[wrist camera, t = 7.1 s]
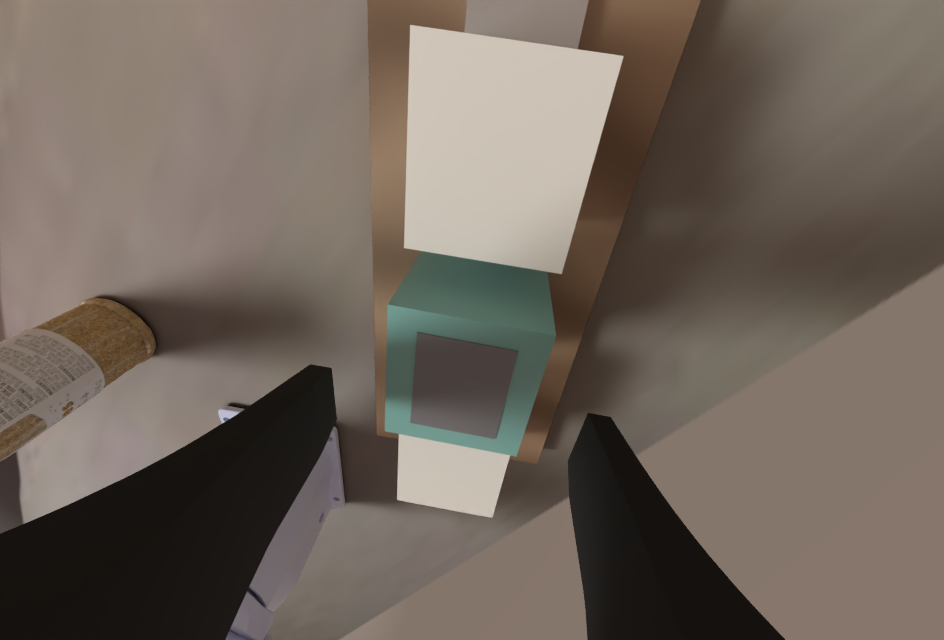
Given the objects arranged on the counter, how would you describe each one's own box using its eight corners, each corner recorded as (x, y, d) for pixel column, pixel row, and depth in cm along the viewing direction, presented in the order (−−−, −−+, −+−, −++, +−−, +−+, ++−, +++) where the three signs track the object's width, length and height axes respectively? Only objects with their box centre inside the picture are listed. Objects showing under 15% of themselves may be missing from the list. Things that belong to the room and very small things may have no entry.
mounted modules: (498, 439, 21) (492, 517, 17) (419, 425, 21) (397, 500, 17) (590, 67, 11) (624, 56, 8) (447, 46, 12) (410, 24, 8)
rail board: (536, 448, 23) (536, 464, 22) (382, 420, 24) (376, 435, 23) (689, -3, 12) (705, -12, 11) (379, -46, 12) (366, -59, 11)
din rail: (485, 449, 22) (484, 458, 22) (428, 439, 22) (426, 447, 22) (588, -5, 11) (591, -10, 10) (472, -21, 11) (469, -26, 11)
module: (518, 349, 17) (516, 458, 12) (424, 332, 17) (384, 432, 12) (544, 251, 15) (556, 336, 10) (433, 231, 15) (387, 305, 10)
